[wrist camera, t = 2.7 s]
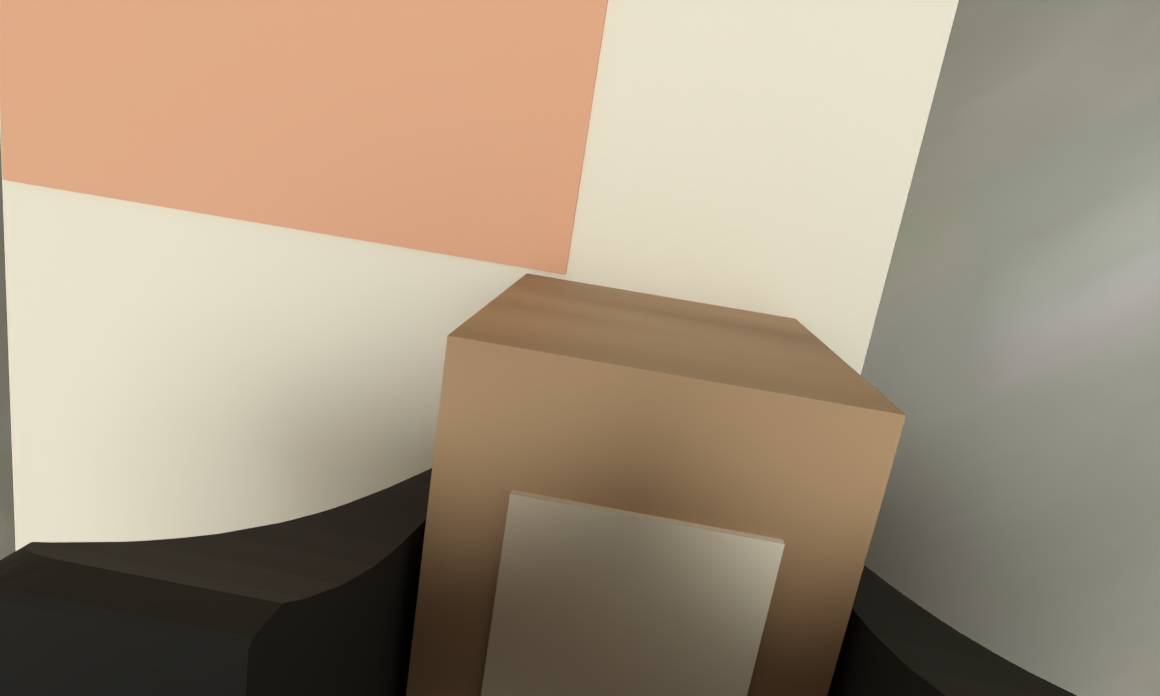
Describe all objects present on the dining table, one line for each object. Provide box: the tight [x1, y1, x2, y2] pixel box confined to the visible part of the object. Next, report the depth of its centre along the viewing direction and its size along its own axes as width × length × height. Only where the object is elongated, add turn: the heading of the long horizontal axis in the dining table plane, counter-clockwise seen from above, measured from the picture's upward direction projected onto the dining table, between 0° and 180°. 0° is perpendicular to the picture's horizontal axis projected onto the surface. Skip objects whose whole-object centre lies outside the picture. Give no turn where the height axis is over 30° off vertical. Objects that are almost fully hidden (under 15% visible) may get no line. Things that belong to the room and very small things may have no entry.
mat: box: [0, 0, 959, 551], centre depth 12 cm, size 17×15×1 cm
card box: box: [406, 273, 906, 696], centre depth 10 cm, size 8×4×5 cm, turn 171°
